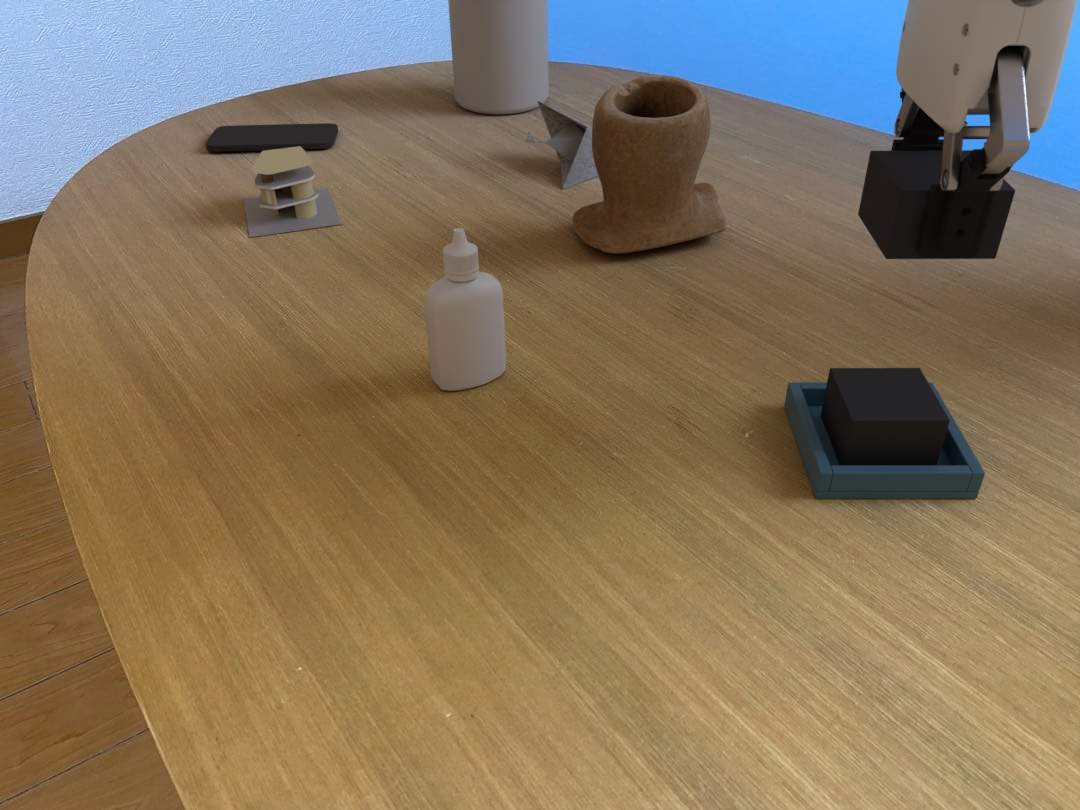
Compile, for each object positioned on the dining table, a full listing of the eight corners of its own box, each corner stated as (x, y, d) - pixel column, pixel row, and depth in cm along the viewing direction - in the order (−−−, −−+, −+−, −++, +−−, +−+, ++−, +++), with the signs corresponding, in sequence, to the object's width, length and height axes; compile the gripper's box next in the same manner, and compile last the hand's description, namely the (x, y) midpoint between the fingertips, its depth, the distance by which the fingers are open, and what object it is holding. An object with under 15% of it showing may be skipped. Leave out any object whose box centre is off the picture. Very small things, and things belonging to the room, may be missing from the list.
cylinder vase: (567, 99, 126) (567, -112, 112) (501, 123, 119) (492, -100, 104) (502, 82, 133) (494, -119, 119) (436, 103, 126) (419, -109, 111)
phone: (331, 143, 111) (203, 146, 110) (332, 150, 111) (204, 153, 111) (338, 122, 117) (217, 125, 116) (339, 129, 117) (218, 132, 117)
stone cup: (605, 278, 84) (610, 111, 75) (560, 226, 93) (559, 71, 84) (755, 252, 88) (776, 90, 79) (698, 204, 97) (711, 54, 88)
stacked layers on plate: (243, 199, 100) (232, 149, 96) (327, 188, 102) (320, 138, 99) (249, 237, 92) (238, 184, 89) (341, 224, 94) (333, 172, 91)
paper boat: (626, 174, 101) (552, 166, 96) (598, 210, 106) (526, 204, 102) (597, 87, 105) (525, 76, 101) (571, 126, 110) (502, 117, 106)
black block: (958, 214, 56) (974, 149, 54) (995, 259, 51) (1016, 190, 49) (857, 215, 57) (870, 150, 54) (885, 259, 52) (900, 190, 49)
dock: (926, 406, 67) (932, 381, 66) (977, 499, 59) (985, 473, 58) (783, 406, 67) (787, 382, 66) (815, 499, 59) (820, 473, 58)
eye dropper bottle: (435, 361, 73) (421, 217, 66) (507, 360, 73) (501, 216, 66) (429, 393, 69) (414, 244, 62) (505, 392, 69) (498, 243, 62)
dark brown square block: (907, 415, 65) (919, 367, 63) (935, 470, 60) (950, 420, 58) (820, 416, 65) (829, 367, 63) (841, 470, 60) (852, 420, 58)
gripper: (1199, -108, 36) (1056, 302, 47) (1020, -149, 50) (941, 173, 61) (1003, -106, 36) (904, 302, 47) (879, -147, 51) (825, 173, 61)
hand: (926, 226), depth 54 cm, fingers closed on black block, 6 cm apart
